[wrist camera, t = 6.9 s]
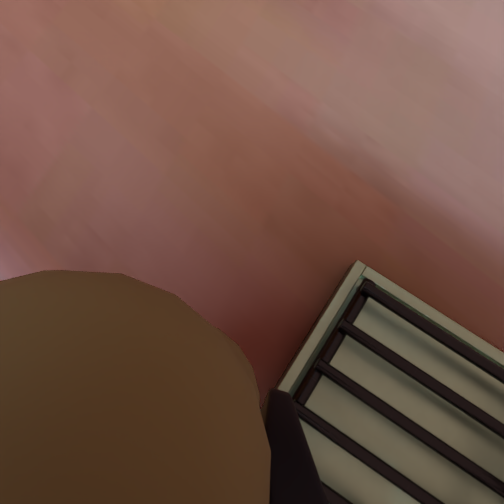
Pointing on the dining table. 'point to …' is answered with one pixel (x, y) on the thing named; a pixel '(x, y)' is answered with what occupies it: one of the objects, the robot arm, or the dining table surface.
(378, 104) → the dining table surface
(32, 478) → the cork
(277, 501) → the robot arm
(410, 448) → the dish rack
